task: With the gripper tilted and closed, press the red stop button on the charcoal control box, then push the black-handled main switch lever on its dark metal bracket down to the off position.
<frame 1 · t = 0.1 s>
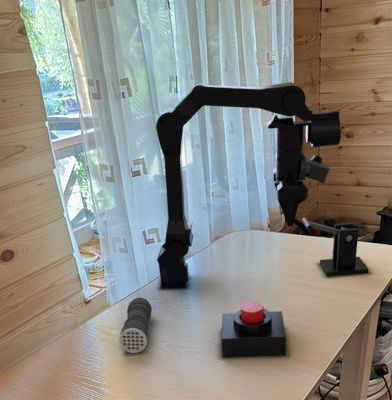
hand: (288, 219, 119), 15 cm above the table, tool pointing down, fingers open, 9 cm apart
stop box: (253, 342, 102), on the table
switch bracket: (343, 268, 128), on the table
switch lever: (328, 229, 123), point 11 cm above the table, hinge at 20.0°
stop button: (252, 312, 99), point 7 cm above the table, slide at 0.1 cm
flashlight: (139, 335, 109), on the table
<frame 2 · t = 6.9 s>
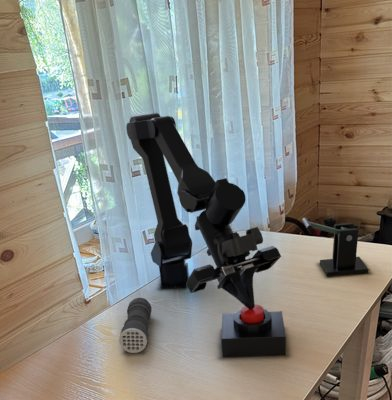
hand: (252, 308, 98), 8 cm above the table, tool tilted 45°, fingers closed, pressing on stop button
stop button: (252, 315, 99), point 6 cm above the table, slide at -0.6 cm, touching gripper
everything else where it was.
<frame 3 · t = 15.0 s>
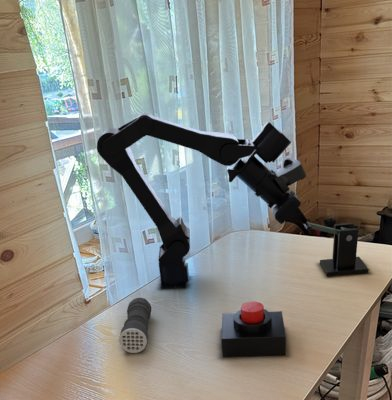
hand: (306, 221, 122), 13 cm above the table, tool tilted 45°, fingers closed, pressing on switch lever
switch lever: (327, 229, 123), point 10 cm above the table, hinge at 18.5°, touching gripper
stop button: (252, 312, 99), point 7 cm above the table, slide at 0.1 cm
everything else where it was.
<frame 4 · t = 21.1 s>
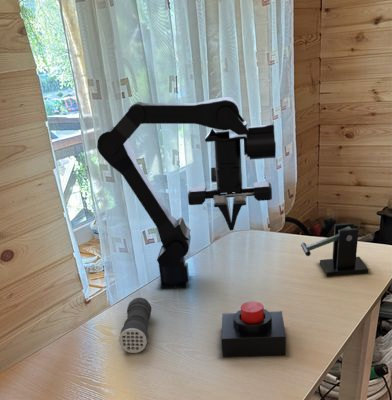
hand: (231, 229, 121), 13 cm above the table, tool pointing down, fingers closed
switch lever: (327, 241, 124), point 8 cm above the table, hinge at -17.4°
everything else where it was.
at the end: stop button pushed in 1.2 cm at the most during the clip, back to where it started at the end; stop button slide at 0.1 cm; switch lever at -17° (first picture: +20°) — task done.
